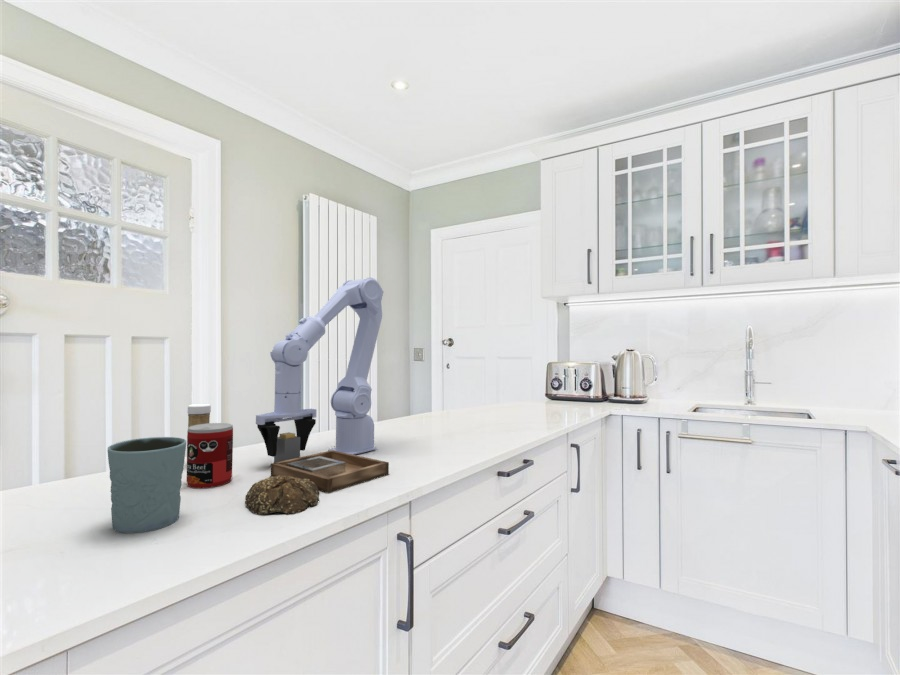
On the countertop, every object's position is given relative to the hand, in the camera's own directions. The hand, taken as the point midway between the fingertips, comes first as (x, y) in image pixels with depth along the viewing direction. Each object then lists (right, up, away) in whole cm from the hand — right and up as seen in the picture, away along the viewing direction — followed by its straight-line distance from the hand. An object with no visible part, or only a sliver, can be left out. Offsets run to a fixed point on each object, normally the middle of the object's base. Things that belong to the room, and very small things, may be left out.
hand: (286, 452), depth 107 cm
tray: (+12, -3, -9) cm, 15 cm away
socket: (+9, -2, -9) cm, 13 cm away
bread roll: (+8, -3, -26) cm, 27 cm away
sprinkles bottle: (-19, -2, -2) cm, 19 cm away
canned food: (-10, -2, -15) cm, 18 cm away
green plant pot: (-9, -2, -36) cm, 37 cm away
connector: (0, -3, 0) cm, 3 cm away
